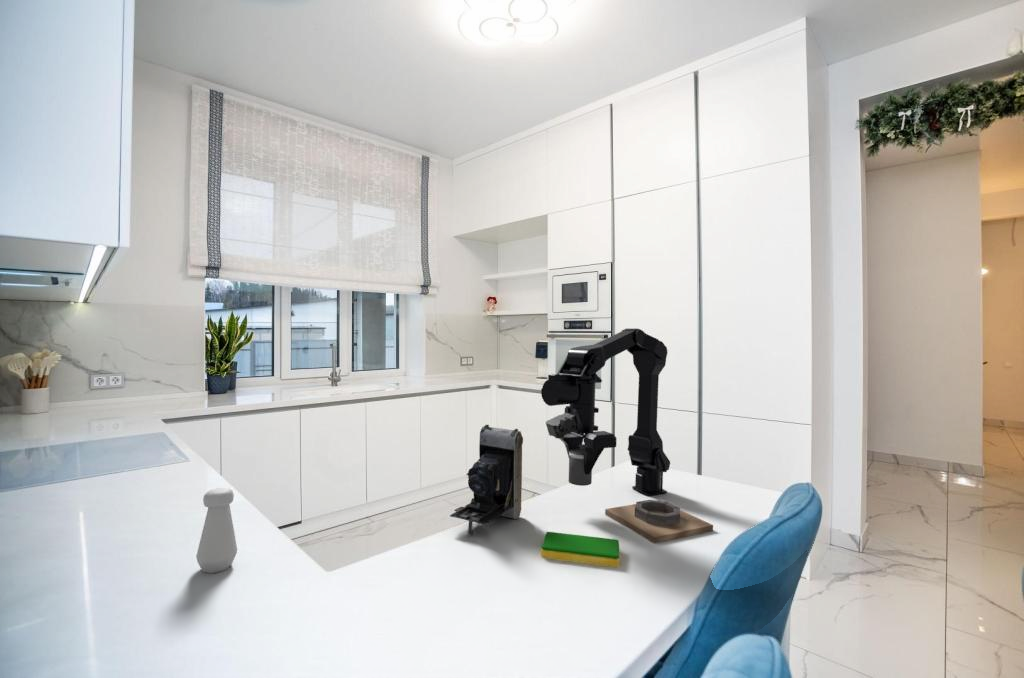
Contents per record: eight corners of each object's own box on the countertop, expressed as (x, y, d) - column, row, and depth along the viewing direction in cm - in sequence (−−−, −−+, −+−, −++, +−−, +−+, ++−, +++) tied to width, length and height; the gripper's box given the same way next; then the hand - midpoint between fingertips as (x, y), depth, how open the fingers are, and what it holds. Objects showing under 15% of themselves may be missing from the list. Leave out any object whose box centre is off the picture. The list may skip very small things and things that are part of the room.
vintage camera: (446, 533, 95) (448, 437, 94) (485, 507, 109) (487, 422, 108) (487, 545, 91) (489, 444, 90) (522, 516, 104) (525, 428, 103)
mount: (659, 505, 113) (659, 491, 113) (712, 530, 99) (713, 515, 99) (605, 514, 107) (605, 500, 107) (654, 543, 92) (655, 527, 92)
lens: (583, 477, 111) (583, 447, 110) (596, 484, 106) (597, 453, 106) (563, 479, 108) (564, 449, 108) (576, 486, 103) (577, 455, 103)
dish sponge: (546, 543, 92) (546, 530, 92) (618, 551, 89) (618, 539, 89) (540, 559, 85) (541, 546, 85) (618, 569, 82) (619, 556, 82)
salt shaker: (193, 579, 75) (195, 497, 74) (198, 563, 80) (199, 487, 80) (235, 571, 77) (237, 493, 77) (238, 556, 82) (239, 483, 82)
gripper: (531, 398, 112) (530, 463, 112) (574, 410, 95) (572, 487, 95) (571, 397, 117) (569, 459, 117) (619, 408, 100) (616, 481, 100)
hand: (580, 470), depth 107 cm, fingers closed on lens, 5 cm apart
